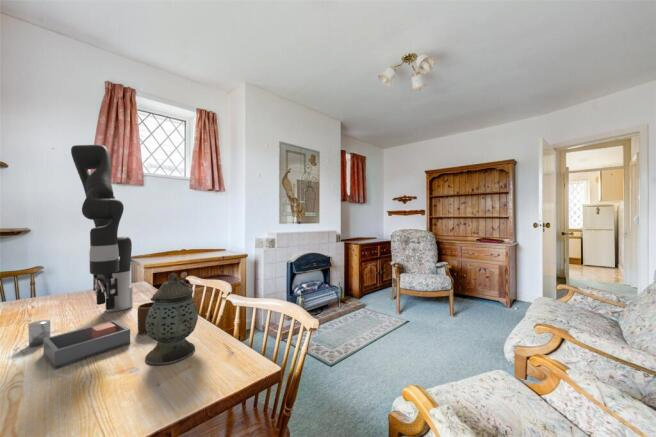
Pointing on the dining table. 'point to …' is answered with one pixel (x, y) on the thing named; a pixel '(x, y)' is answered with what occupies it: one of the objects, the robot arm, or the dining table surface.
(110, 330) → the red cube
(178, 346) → the lantern
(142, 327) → the mug
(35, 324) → the steel cylinder
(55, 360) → the tote
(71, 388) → the dining table surface
